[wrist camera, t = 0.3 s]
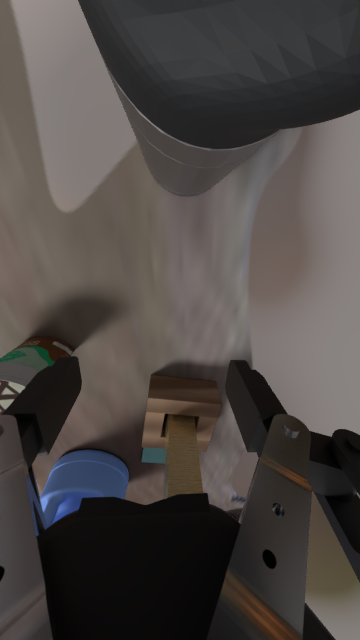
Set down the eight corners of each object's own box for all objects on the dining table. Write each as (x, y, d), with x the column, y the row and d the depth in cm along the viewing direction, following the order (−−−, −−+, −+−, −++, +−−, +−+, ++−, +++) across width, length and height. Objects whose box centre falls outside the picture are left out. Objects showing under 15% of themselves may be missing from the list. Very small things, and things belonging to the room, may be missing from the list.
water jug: (143, 478, 47) (110, 779, 22) (84, 497, 49) (-7, 788, 24) (103, 437, 41) (-9, 795, 15) (38, 461, 43) (-152, 806, 18)
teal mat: (146, 426, 40) (146, 429, 39) (198, 430, 41) (198, 433, 40) (141, 459, 44) (141, 462, 43) (188, 462, 45) (188, 465, 44)
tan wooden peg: (169, 392, 36) (167, 531, 20) (191, 394, 37) (207, 532, 20) (165, 409, 38) (162, 550, 22) (187, 411, 38) (199, 550, 22)
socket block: (151, 374, 34) (148, 397, 30) (215, 381, 36) (222, 404, 31) (144, 421, 39) (141, 447, 35) (202, 425, 40) (206, 451, 36)
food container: (51, 313, 29) (-2, 355, 20) (82, 345, 32) (47, 395, 23) (-9, 353, 32) (-81, 406, 23) (24, 380, 34) (-30, 437, 25)
